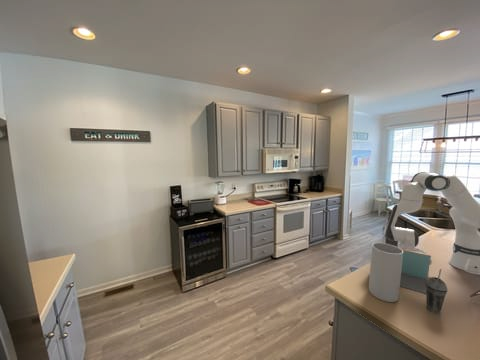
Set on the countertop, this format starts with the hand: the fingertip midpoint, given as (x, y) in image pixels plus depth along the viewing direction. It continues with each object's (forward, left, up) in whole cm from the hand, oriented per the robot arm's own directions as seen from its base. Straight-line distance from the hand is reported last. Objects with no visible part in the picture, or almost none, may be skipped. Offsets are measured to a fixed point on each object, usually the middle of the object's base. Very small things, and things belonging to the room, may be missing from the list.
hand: (411, 261), depth 119 cm
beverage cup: (-4, +32, -8) cm, 33 cm away
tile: (0, +1, -8) cm, 8 cm away
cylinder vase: (+15, +32, -8) cm, 36 cm away
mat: (0, +11, -8) cm, 13 cm away
